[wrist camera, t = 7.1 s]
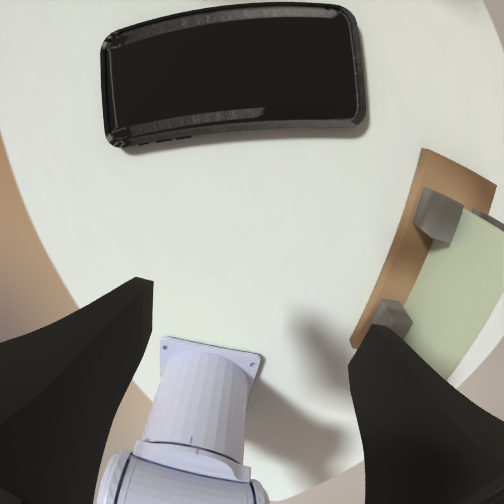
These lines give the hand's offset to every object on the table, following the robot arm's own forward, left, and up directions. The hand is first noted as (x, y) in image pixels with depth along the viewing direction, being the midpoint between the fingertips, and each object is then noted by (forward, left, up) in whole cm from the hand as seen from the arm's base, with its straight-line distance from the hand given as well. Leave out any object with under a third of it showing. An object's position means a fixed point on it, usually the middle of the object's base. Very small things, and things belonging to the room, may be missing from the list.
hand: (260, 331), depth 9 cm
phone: (+9, +4, -10) cm, 14 cm away
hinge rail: (0, -12, -9) cm, 15 cm away
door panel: (0, -12, -8) cm, 15 cm away
